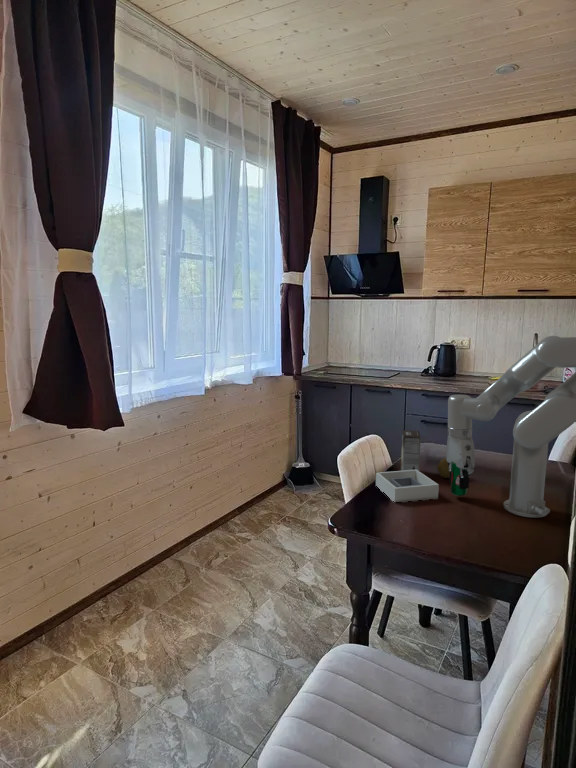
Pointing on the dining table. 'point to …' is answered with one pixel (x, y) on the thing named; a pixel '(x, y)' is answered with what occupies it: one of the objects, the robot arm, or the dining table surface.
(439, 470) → the potato
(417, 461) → the coffee box
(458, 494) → the soda can
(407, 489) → the walled box
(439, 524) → the dining table surface
